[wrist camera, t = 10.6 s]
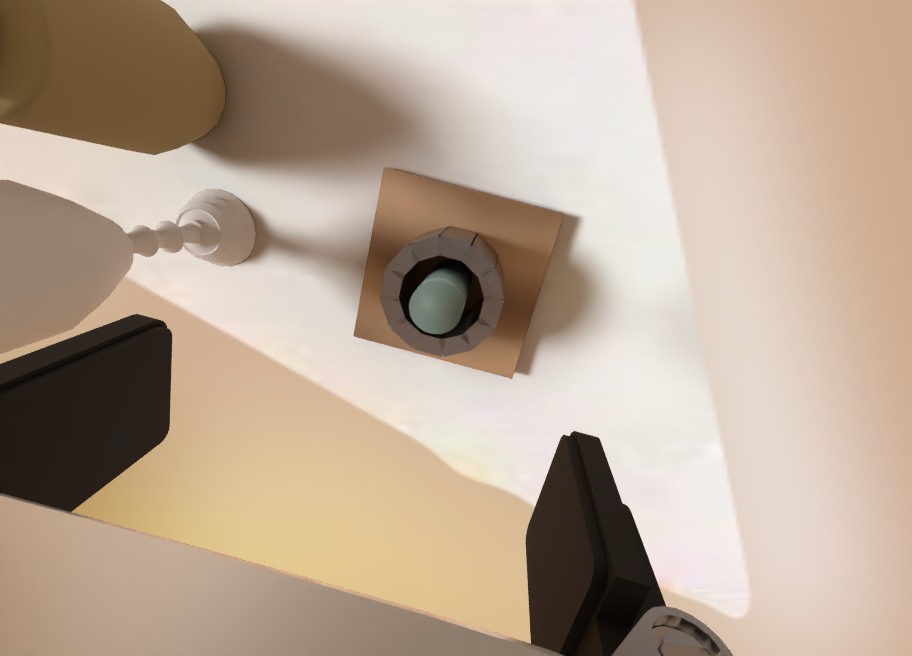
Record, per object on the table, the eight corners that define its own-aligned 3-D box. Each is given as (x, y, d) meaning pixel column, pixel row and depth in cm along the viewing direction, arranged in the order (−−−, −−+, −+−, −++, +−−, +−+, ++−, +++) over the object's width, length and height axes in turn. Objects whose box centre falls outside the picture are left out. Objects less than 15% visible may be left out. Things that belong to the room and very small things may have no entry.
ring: (413, 215, 28) (394, 222, 23) (515, 242, 28) (517, 255, 23) (392, 312, 30) (371, 337, 25) (487, 338, 30) (483, 368, 25)
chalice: (155, 180, 30) (-308, 179, 13) (250, 162, 29) (-117, 135, 12) (192, 288, 32) (-165, 410, 15) (281, 274, 31) (7, 389, 14)
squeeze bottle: (105, 16, 27) (-570, -261, 10) (232, 6, 26) (-271, -315, 9) (138, 160, 30) (-360, 132, 13) (255, 155, 29) (-109, 118, 12)
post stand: (388, 168, 28) (344, 163, 20) (561, 212, 28) (582, 225, 20) (358, 330, 32) (311, 379, 24) (511, 371, 31) (513, 433, 24)
